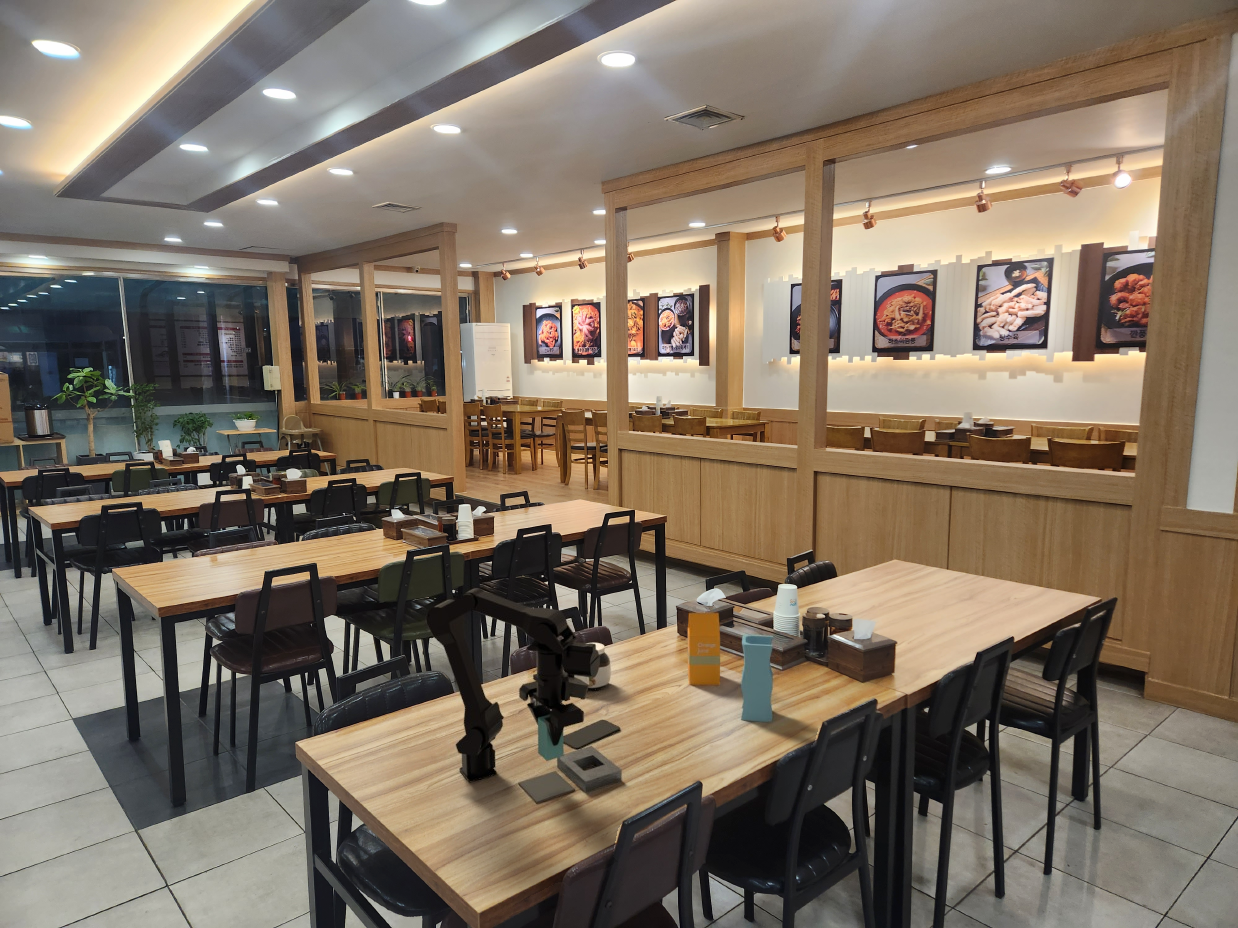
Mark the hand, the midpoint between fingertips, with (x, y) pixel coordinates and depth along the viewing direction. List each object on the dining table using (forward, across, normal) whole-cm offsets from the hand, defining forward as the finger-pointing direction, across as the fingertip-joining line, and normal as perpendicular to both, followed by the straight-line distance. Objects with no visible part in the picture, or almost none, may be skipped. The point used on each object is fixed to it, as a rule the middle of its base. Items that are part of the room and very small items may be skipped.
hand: (550, 740), depth 161 cm
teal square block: (+3, 0, 0) cm, 3 cm away
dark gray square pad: (+10, 0, +1) cm, 10 cm away
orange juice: (+10, +26, -64) cm, 70 cm away
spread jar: (+10, +40, -34) cm, 53 cm away
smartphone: (+10, +15, -19) cm, 27 cm away
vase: (+10, 0, -61) cm, 61 cm away
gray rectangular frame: (+10, -1, -9) cm, 13 cm away
